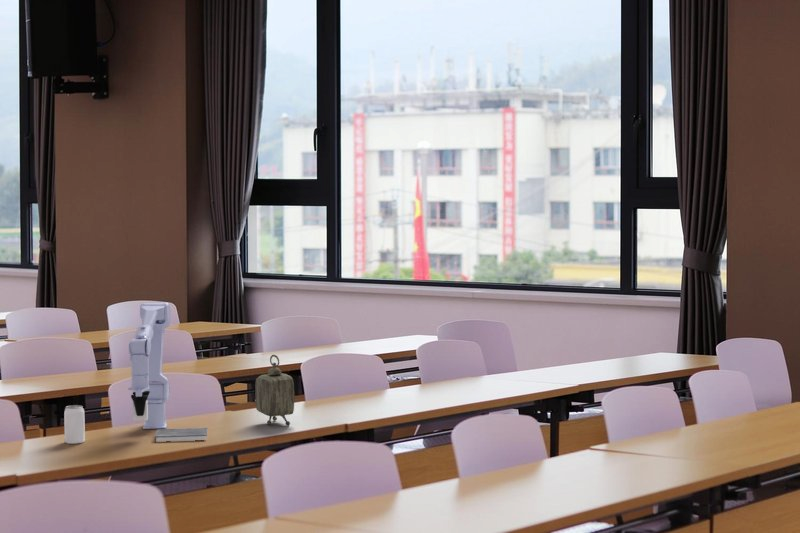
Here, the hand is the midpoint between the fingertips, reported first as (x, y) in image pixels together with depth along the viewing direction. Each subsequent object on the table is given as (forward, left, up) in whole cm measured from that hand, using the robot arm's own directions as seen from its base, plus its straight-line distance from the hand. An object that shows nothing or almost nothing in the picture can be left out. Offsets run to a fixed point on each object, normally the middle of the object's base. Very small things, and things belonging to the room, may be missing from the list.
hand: (140, 414), depth 395 cm
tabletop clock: (-18, +45, -9) cm, 50 cm away
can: (+2, -22, -9) cm, 23 cm away
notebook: (0, +13, -9) cm, 16 cm away
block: (0, 0, -2) cm, 2 cm away
